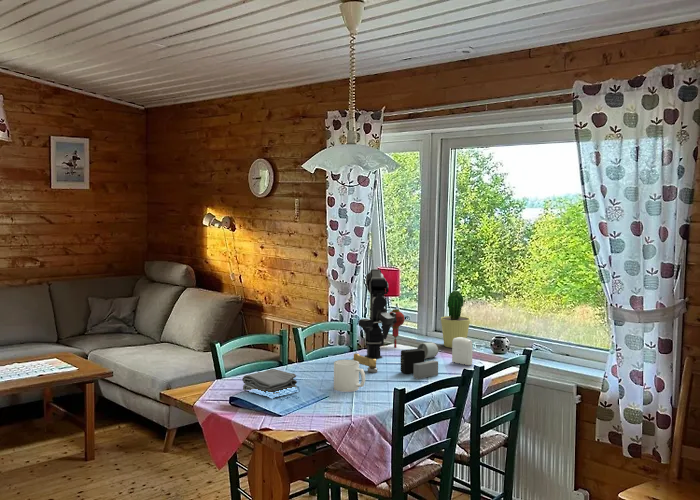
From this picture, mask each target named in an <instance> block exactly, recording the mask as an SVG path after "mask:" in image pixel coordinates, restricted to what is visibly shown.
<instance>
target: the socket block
mask: <svg viewBox="0 0 700 500" xmlns="http://www.w3.org/2000/svg"><path fill="white" fill-rule="evenodd" d="M412 375H413V376H412V377H413V379H417V380H420V379H424V378H431V377H435V376H438V375H439V361H438V360H435V359H432V360H428V361H427V360H426V361H425V362H421V363H416V364H414V373H413V374H412ZM434 375H435V376H434Z"/></svg>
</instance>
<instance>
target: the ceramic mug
mask: <svg viewBox="0 0 700 500" xmlns="http://www.w3.org/2000/svg"><path fill="white" fill-rule="evenodd" d="M416 349H422V350H424V351H425V360H426V359H432V358H435V357H437V355H438V354H439V346H438V345H437V344H436V343H435V342H421V343H419V344H418V346H417V348H416Z"/></svg>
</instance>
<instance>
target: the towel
mask: <svg viewBox="0 0 700 500" xmlns="http://www.w3.org/2000/svg"><path fill="white" fill-rule="evenodd" d="M295 378H297V375H296V373H293V372H292V373H291V372H287V371H284V370H279V369H276V368H269V369H266V370H264V371H258V372H256V373H255V372H254V373H250V374H246V375H244V376H243V377H242V378H241V379H242V382H243V383H244V384H243V386H242V389H243V390H244V391H245V390H251V389H258V390H261V391H264V392H266V391H268V392H275V391H279V390H283V389H287V388H292V387H296V388H297V384H298V381H297V380H295ZM276 393H279V392H276ZM273 394H275V393H273Z"/></svg>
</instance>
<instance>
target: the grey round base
mask: <svg viewBox="0 0 700 500" xmlns="http://www.w3.org/2000/svg"><path fill="white" fill-rule="evenodd" d="M367 373H369V374H374V373H375V374H376V373H378V367H376V368H369V367H367Z"/></svg>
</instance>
